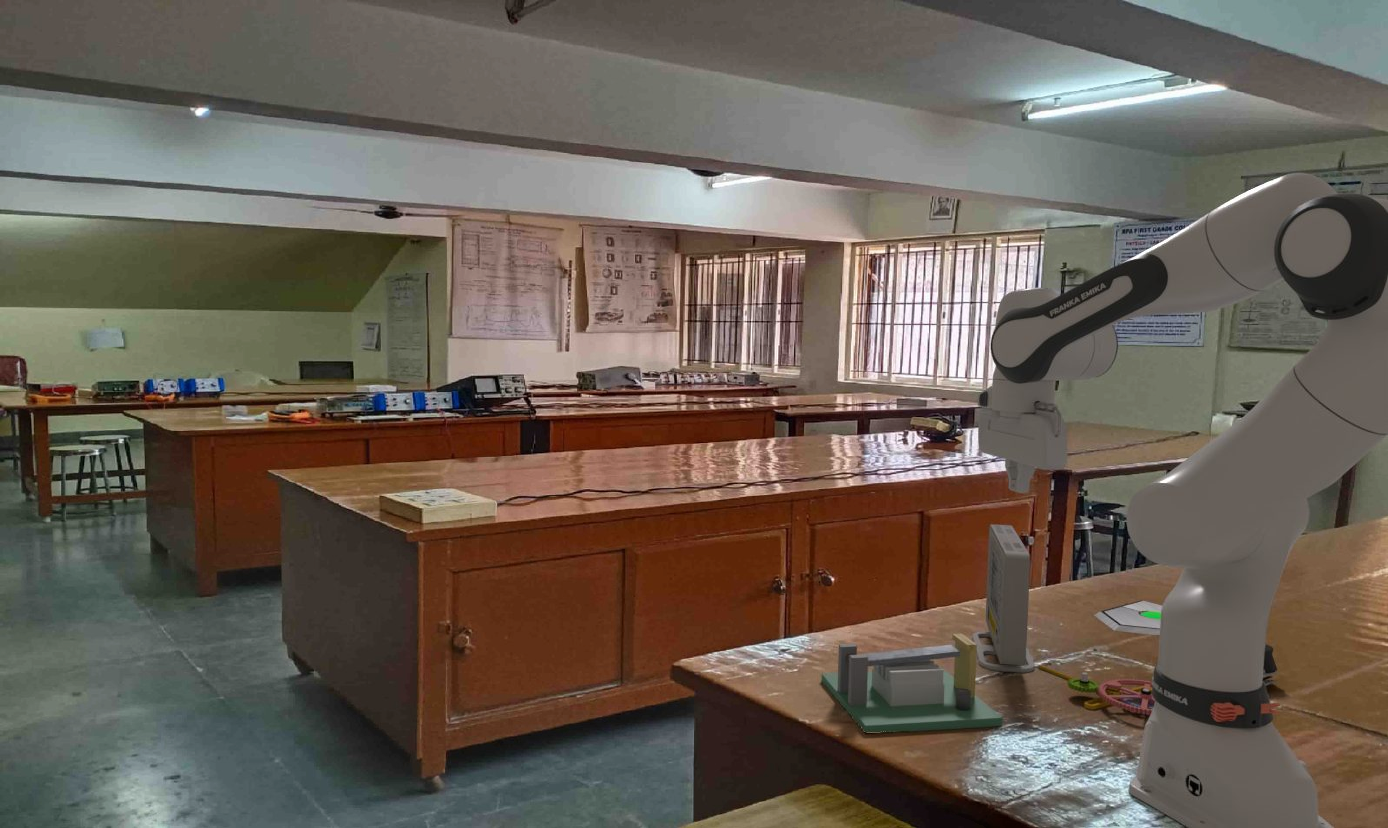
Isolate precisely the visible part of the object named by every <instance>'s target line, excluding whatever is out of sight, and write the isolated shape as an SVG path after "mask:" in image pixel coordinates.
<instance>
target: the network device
mask: <svg viewBox="0 0 1388 828" xmlns="http://www.w3.org/2000/svg"><path fill="white" fill-rule="evenodd" d="M988 529H989V530H988V551H987V552H988V554H987V555H988V556H987V558H988V559H987V578H986V597H985V598H986V602H985V605H986V606H985V621H986V622H985V623H986V625H987V629H988V631H976V632H974V633H973V634H972V641H973V642H974V643H976V644H977V654H976V658H977V661H978V664H979V665H980V666H981V667H982V668H984V669H987V670H992V671H997V672H998V671H1001V672H1010V673H1011V672H1012V673H1029V672H1033V671H1034V670H1035V667H1036V666H1035V662H1034V660H1033V657H1032V655H1031V652H1030V651H1029V648H1028V646H1027V644H1028V641H1027V639H1028V620H1029V619H1028V618H1029V617H1028V616H1029V596H1030V595H1029V594H1030V575H1031V555H1030V553H1029V551H1028V549H1027V548H1026V546H1025V545H1024V543H1023V542H1022V540H1021V538H1020V536H1019V535H1018V533H1017V532H1016V530H1015V528H1014V527H1013V525H1008V524H989V528H988ZM982 637H983V638H991V640H992V644H993V645H989V644H988V645H987V644H983V643H981V641H980V638H982ZM985 655H993V656H994V655H996V656H997V658H998V661H999V663H998V664H997V663H996V664H995V663H989V662H987V661H986V658H985Z"/></svg>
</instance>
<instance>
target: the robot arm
mask: <svg viewBox="0 0 1388 828" xmlns="http://www.w3.org/2000/svg"><path fill="white" fill-rule="evenodd" d="M1283 281H1285V283H1287V285H1288V286H1289V287H1290V288H1291V289H1292V290H1293V291H1294V293H1295V294H1296V295H1297V296H1298V298H1299V300H1300V301H1301V304H1302V305H1303V308H1304V309H1305V311H1306V312H1307V313H1308V315H1310V316H1311V317H1313V318H1315V319H1321V320H1327V322H1326V323H1327V324H1326V327H1325V330H1324V333H1323V334H1322V336H1321V337H1320V338H1319V340H1318V341H1317V342H1316V343H1315V344H1314V345H1313V346H1312V347H1311V348H1310V349H1309V351H1308V352H1307V353H1305V355H1303V357H1302V358H1300V360H1299V361H1298V362H1297V363H1295V365H1293V367H1291V369H1290V370H1289V371H1288V372H1287V373H1286V374H1285V375H1284V376H1283V377H1282V378H1281V379H1280V380H1278V382H1277V383H1276V384H1274V386H1273V387H1272V388H1271V389H1270V390H1269V391H1268V392H1267V393H1266V394H1265V395H1264V396H1263V397H1262V398H1261V399H1260V400H1259V402H1258V403H1256V405H1254V407H1252V408H1251V409H1250V410H1248V412H1247V413H1246V414H1245V415H1244V416H1243V417H1241V418H1240V419H1239V420H1238V421H1236V422H1235V423H1234V424H1233V425H1231V426H1230V427H1228V428H1227V429H1226V430H1225V431H1223V432H1222V433H1220V434H1219V435H1218V436H1216V437H1214V438H1213V439H1212V440H1210V441H1209V442H1208V443H1206V444H1205V445H1203V446H1202V447H1201V448H1200V449H1198V450H1197V451H1195V452H1194V453H1192V455H1190V456H1189V457H1188V458H1186V459H1185V460H1183V462H1181V463H1179V465H1177V466H1175V468H1172V469H1171V470H1170V471H1168V472H1167V473H1166V474H1164V475H1163V476H1161V477H1160V478H1157V479H1156V480H1154V481H1152V482H1150V483H1148V484H1147V485H1144V486H1143V487H1141V488H1140V489H1138V491H1137V492H1135V494H1134V495H1133V496H1132V498H1131V500H1130V502H1129V503H1128V507H1127V509H1126V511H1127V512H1126V527H1127V532H1128V536H1129V537H1130V540H1131V542H1132V543H1133V545H1134V547H1135V549H1136V550H1138V552H1139V553H1140V554H1141V555H1142V556H1143V557H1145V558H1146V559H1148V560H1149V561H1150V562H1153V563H1156V564H1158V565H1161V566H1166V567H1173V568H1179V569H1182V571H1181V574H1180V576H1179V578H1178V581H1177V582H1176V584H1175V585H1174V587H1173V589H1172V590H1171V591H1170V593H1168V595H1167V596H1166V597H1165V600H1164V601H1163V603H1162V609H1161V623H1160V635H1159V640H1158V642H1159V643H1158V644H1159V645H1158V659H1157V664H1156V665H1154V668H1153V675H1152V677H1151V681H1152V686H1153V687H1152V696H1153V698H1154V699H1155V702H1154V705H1153V709H1152V712H1151V715H1150V714H1149V717H1148V719H1147V720H1146V722H1145V724H1144V729H1143V735H1142V742H1141V746H1140V747H1141V748H1140V753H1139V758H1138V759H1139V760H1138V766H1137V771H1136V776H1135V777H1134V778H1132V779H1131V780H1130V782H1129V786H1128V792H1129V794H1131V795H1132V796H1134V797H1135V798H1137V799H1139V800H1141V801H1142V802H1144V803H1145V804H1147V805H1149V806H1151V807H1153V808H1154V809H1156V810H1157V811H1159V812H1161V813H1163V814H1164V815H1166V816H1168V817H1169V818H1171V819H1173V820H1174V821H1177V822H1178V823H1180V824H1181V825H1183V826H1185V827H1187V828H1335V827H1334V826H1332V825H1331V824H1330V823H1329V822H1328V821H1326V820H1325V819H1324V818H1323V817H1322V816H1320V815H1319V805H1318V803H1319V802H1318V801H1319V799H1318V792H1317V787H1316V784H1315V780H1314V779H1313V778H1312V776H1311V775H1310V771H1309V767H1308V765H1307V764H1306V763H1305V761H1303V760H1299V759H1298V757H1297V756H1296V754H1295V753H1294V752H1293V750H1292V749H1291V748H1290V746H1289V745H1288V744H1287V742H1286V740H1284V738H1283V737H1282V735H1281V734H1280V733H1279V731H1278V730H1277V728H1276V727H1275V726H1274V724H1273V720H1274V716H1273V714H1280V710H1275V709H1276V708H1277V707H1281V703H1279V702H1272V703H1271V701H1270V695H1269V693H1268V689H1267V685H1265V684H1264V682H1263V681H1262V679H1263V666H1264V654H1265V644H1266V641H1267V630H1268V622H1269V617H1270V614H1271V613H1270V612H1271V608H1272V605H1273V602H1274V599H1275V597H1276V593H1277V590H1278V587H1279V585H1280V584H1279V583H1280V580H1281V578H1282V575H1283V571H1284V569H1285V567H1286V563H1287V560H1288V557H1289V555H1290V553H1291V551H1292V549H1293V546H1294V545H1295V544H1296V542H1297V541H1298V539H1299V538H1301V536H1302V534H1303V533H1304V532H1305V530H1306V528H1307V526H1308V523H1309V520H1310V506H1309V502H1308V499H1309V498H1311V497H1312V496H1314V495H1315V494H1318V493H1319V492H1321V491H1322V490H1325V489H1327V488H1329V487H1330V486H1332V485H1333V484H1335V483H1336V482H1337V481H1339V479H1341V477H1343V476H1344V475H1345V474H1346V473H1347V472H1349V470H1350V469H1351V468H1353V466H1355V465H1356V464H1358V462H1359V461H1361V460H1362V458H1363V457H1365V456H1366V455H1367V454H1368V453H1370V451H1371V450H1373V449H1374V448H1375V447H1376V446H1377V445H1378V444H1379V443H1381V442H1382V441H1383V440H1384V439H1385V438H1386V437H1387V436H1388V199H1387V198H1380V197H1369V196H1367V195H1365V194H1358V193H1351V192H1350V193H1346V192H1345V193H1338V192H1337V191H1336V190H1335V189H1334V188H1333V187H1332V186H1331V185H1330V184H1329V183H1328V182H1326V181H1325V180H1324V179H1322V178H1321V177H1319V176H1316V175H1314V174H1311V173H1305V172H1295V173H1294V172H1293V173H1287V174H1285V175H1282V176H1279V177H1277V178H1275V179H1272V180H1269V181H1267V182H1265V183H1262V184H1260V185H1258V186H1255V187H1254V188H1251V189H1250V190H1247V191H1245V192H1243V193H1241V194H1240V195H1238V196H1236V197H1234V198H1232V199H1230V200H1229V201H1226V202H1224V203H1223V204H1221V205H1220V206H1217V207H1216V208H1215V209H1213V210H1211V211H1210V212H1207V214H1205V215H1204V216H1202V217H1200V218H1199V219H1197V220H1195V221H1194V222H1192V223H1190V224H1189V225H1187V226H1186V227H1184V228H1183V229H1181V230H1178V231H1177V232H1176V233H1175V234H1172V235H1171V236H1169V237H1167V238H1166V239H1164V240H1162V241H1160V242H1159V243H1157V244H1155V245H1153V246H1152V247H1149V248H1147V249H1146V250H1143V251H1142V252H1140V253H1138V254H1136V255H1135V256H1133V257H1131V258H1129V259H1127V260H1125V261H1124V262H1121V263H1119V264H1117V265H1114V266H1112V267H1110V268H1109V269H1107V270H1105V271H1103V272H1101V273H1099V274H1097V275H1095V276H1093V277H1092V278H1090V279H1088V280H1086V281H1083V282H1082V283H1080V284H1078V285H1077V286H1075V287H1073V288H1071V289H1070V290H1068V291H1066V292H1063V293H1062V294H1059V295H1058V293H1056V291H1055V290H1054V289H1052V288H1048V287H1047V288H1046V287H1030V288H1021V289H1017V290H1013V291H1011V292H1007V293H1006V294H1005V295H1004V296H1002V298H1001V300H1000V302H999V305H998V308H997V311H996V318H995V325H994V326H995V327H994V330H993V332H992V335H991V338H990V339H991V340H990V354H991V359H992V360H993V363H994V365H995V368H994V371H993V374H992V381H991V382H992V384H991V385H990V386H989V387H988V388H986V389H984V390H982V391H981V392H979V393H978V394H977V400H976V402H977V406H978V407H979V408H981V409H980V410H979V412H978V423H977V424H978V426H977V427H978V428H977V429H978V430H977V431H978V432H977V435H978V436H977V437H978V438H977V439H978V447H979V448H980V451H981V453H982V454H984V455H985V454H986V455H989V456H993V457H996V458H1000V459H1003V460H1004V467H1005V471H1006V474H1007V478H1008V489H1009V490H1010V491H1012V492H1016V493H1018V494H1028V493H1029V492H1030V482H1031V480H1032V478H1033V476H1034V473H1035V472H1036V469H1039V470H1044V471H1059V470H1060V471H1061V470H1063V469H1065V468H1066V465H1067V463H1068V433H1067V426H1066V425H1067V424H1066V421H1065V419H1064V418H1063V415H1062V412H1060V409H1059V408H1058V406H1057V404H1055V401H1056V399H1055V398H1056V382H1057V381H1063V382H1065V381H1082V380H1091V379H1095V378H1098V377H1101V376H1102V375H1104V374H1105V373H1107V372H1108V371H1109V370H1110V368H1112V365H1113V364H1114V363H1115V360H1116V358H1117V354H1118V350H1119V340H1118V334H1117V331H1116V329H1115V326H1114V325H1115V324H1119V323H1121V322H1124V321H1127V320H1131V319H1135V318H1136V319H1137V318H1140V317H1146V316H1157V315H1172V314H1173V315H1174V314H1197V313H1207V312H1213V311H1217V310H1221V309H1223V308H1226V307H1229V306H1232V305H1235V304H1238V303H1241V302H1243V301H1246V300H1249V299H1251V298H1253V297H1255V296H1257V295H1259V294H1260V293H1262V292H1265V291H1266V290H1268V289H1270V288H1272V287H1273V286H1275V285H1277V284H1279V283H1281V282H1283ZM1318 311H1320V312H1318ZM1274 708H1275V709H1274ZM1272 709H1273V710H1272Z"/></svg>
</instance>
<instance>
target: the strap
mask: <svg viewBox="0 0 1388 828" xmlns="http://www.w3.org/2000/svg"><path fill="white" fill-rule="evenodd" d="M849 655H850V654H849ZM849 655H847V656H846V660H847V661H848V662H849ZM857 655H866V656H867V657H868V667H873V666H876V665H886V664H895V663H904V662H914V661H923V660H930V661H933V660H940V659H941V660H942V659H949V658H955V657H960V651H959V650H958V649H957V648H955V645H953V644H945V645H935V646H926V647H924V646H923V647H916V648H915V647H914V648H907V649H898V650H897V649H895V650H885V651H880V652H879V651H878V652H877V651H876V652H870V653H869V652H868V653H860V654H859V653H857Z"/></svg>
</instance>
